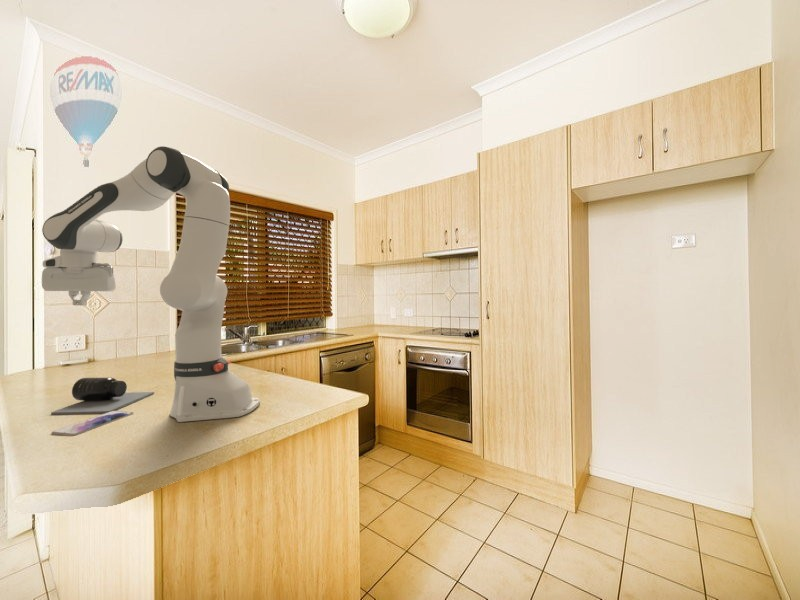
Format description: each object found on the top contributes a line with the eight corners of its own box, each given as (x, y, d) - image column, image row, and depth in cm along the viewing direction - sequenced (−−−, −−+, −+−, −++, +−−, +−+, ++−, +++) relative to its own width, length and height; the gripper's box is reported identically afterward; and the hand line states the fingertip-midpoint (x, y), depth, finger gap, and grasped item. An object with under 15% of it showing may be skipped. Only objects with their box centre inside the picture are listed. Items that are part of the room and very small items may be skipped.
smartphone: (134, 412, 93) (74, 434, 79) (134, 415, 93) (74, 438, 79) (113, 410, 95) (49, 432, 80) (113, 413, 95) (49, 435, 80)
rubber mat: (154, 393, 112) (154, 392, 112) (109, 413, 94) (109, 411, 94) (105, 394, 111) (105, 393, 111) (51, 414, 93) (51, 412, 93)
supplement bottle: (94, 382, 108) (133, 382, 109) (83, 403, 104) (123, 403, 105) (78, 373, 103) (119, 374, 103) (66, 395, 99) (108, 396, 99)
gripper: (120, 263, 113) (120, 305, 114) (56, 263, 112) (56, 304, 113) (104, 262, 107) (105, 306, 107) (36, 261, 106) (37, 305, 106)
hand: (79, 305), depth 110 cm, fingers closed
